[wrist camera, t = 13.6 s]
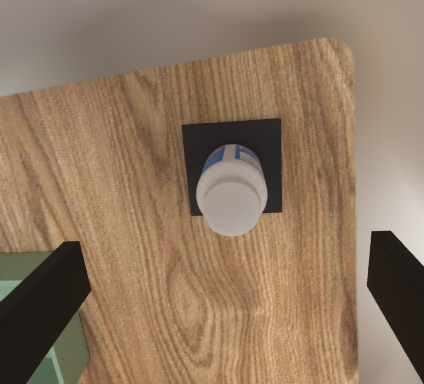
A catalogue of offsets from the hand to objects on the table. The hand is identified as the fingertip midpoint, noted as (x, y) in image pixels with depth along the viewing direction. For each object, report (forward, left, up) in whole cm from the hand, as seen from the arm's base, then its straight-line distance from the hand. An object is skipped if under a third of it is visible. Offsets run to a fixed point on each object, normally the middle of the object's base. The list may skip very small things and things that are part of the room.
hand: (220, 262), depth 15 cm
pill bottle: (0, 0, -17) cm, 17 cm away
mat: (0, 0, -18) cm, 18 cm away
